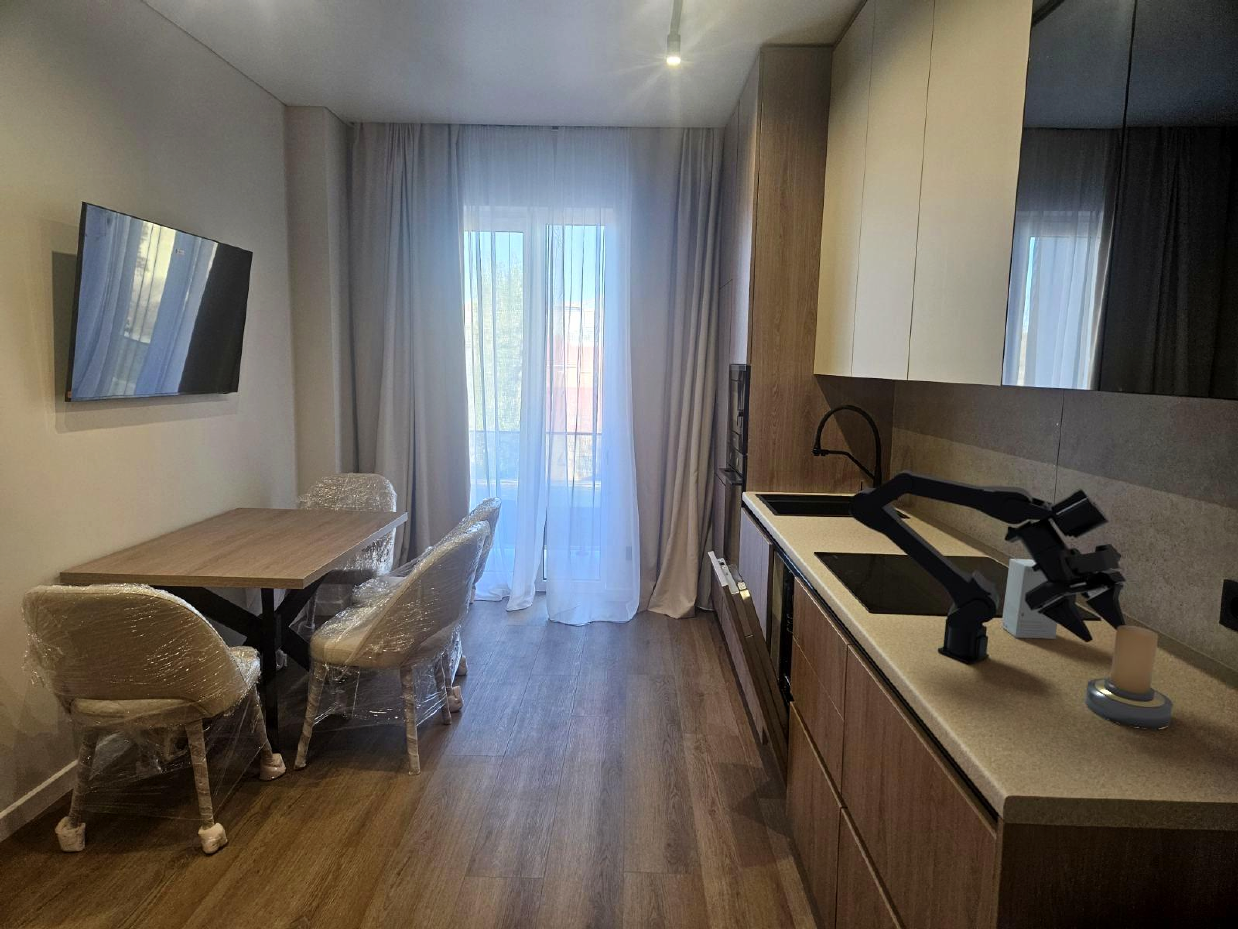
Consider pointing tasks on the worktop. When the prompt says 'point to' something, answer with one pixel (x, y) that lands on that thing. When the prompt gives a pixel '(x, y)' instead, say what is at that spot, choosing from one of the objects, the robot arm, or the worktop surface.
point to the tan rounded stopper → (1133, 664)
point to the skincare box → (1024, 603)
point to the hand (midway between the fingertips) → (1107, 636)
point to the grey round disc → (1128, 707)
